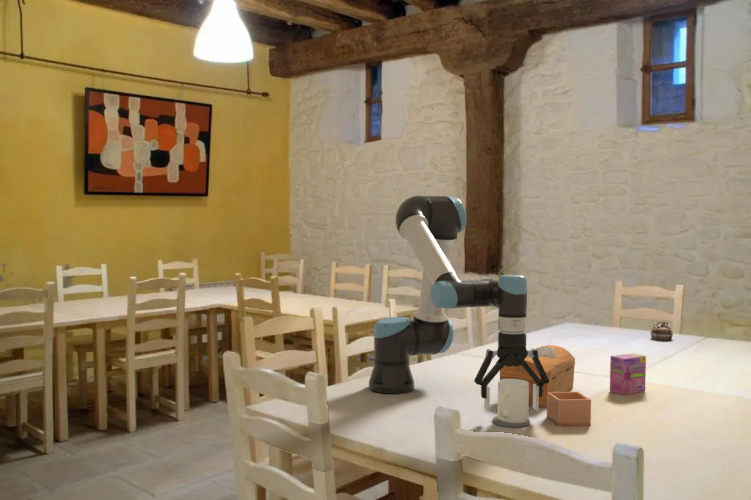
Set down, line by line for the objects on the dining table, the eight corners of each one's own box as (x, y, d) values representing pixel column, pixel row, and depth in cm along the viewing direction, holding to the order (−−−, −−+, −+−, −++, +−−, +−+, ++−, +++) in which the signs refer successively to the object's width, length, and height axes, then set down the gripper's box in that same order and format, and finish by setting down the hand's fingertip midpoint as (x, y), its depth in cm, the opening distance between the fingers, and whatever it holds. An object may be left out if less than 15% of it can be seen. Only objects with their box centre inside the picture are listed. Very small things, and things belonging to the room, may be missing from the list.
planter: (558, 426, 184) (558, 400, 183) (546, 416, 193) (547, 392, 192) (590, 425, 184) (591, 399, 184) (577, 416, 193) (578, 391, 193)
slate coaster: (498, 428, 182) (498, 425, 182) (488, 417, 192) (488, 415, 192) (535, 427, 183) (535, 425, 183) (523, 416, 193) (523, 414, 193)
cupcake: (646, 342, 321) (646, 320, 321) (665, 341, 322) (666, 320, 322) (656, 345, 312) (657, 323, 311) (676, 345, 313) (677, 323, 312)
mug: (512, 429, 179) (513, 390, 178) (484, 423, 184) (485, 385, 183) (533, 419, 188) (534, 381, 187) (506, 413, 193) (507, 377, 192)
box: (623, 395, 218) (623, 358, 218) (609, 391, 223) (609, 355, 223) (646, 391, 223) (646, 355, 223) (632, 388, 228) (632, 352, 228)
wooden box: (528, 382, 237) (528, 342, 236) (576, 388, 228) (576, 347, 227) (494, 400, 211) (494, 356, 211) (546, 408, 203) (547, 361, 202)
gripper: (470, 334, 182) (469, 414, 182) (561, 333, 184) (560, 412, 184) (464, 330, 189) (463, 406, 190) (552, 329, 191) (551, 405, 192)
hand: (511, 409), depth 187 cm, fingers open, 13 cm apart
